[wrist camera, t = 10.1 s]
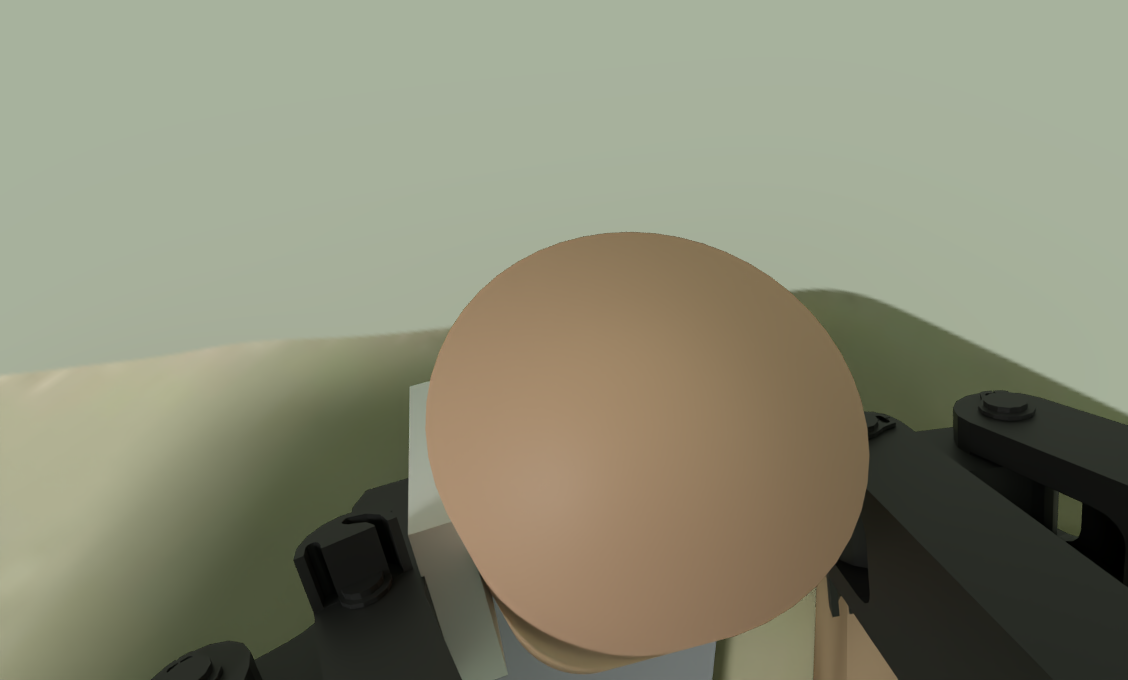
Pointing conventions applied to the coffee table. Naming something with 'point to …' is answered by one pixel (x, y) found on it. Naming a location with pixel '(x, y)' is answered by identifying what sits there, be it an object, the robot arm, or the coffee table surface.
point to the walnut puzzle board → (844, 645)
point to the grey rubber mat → (667, 676)
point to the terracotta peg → (643, 447)
